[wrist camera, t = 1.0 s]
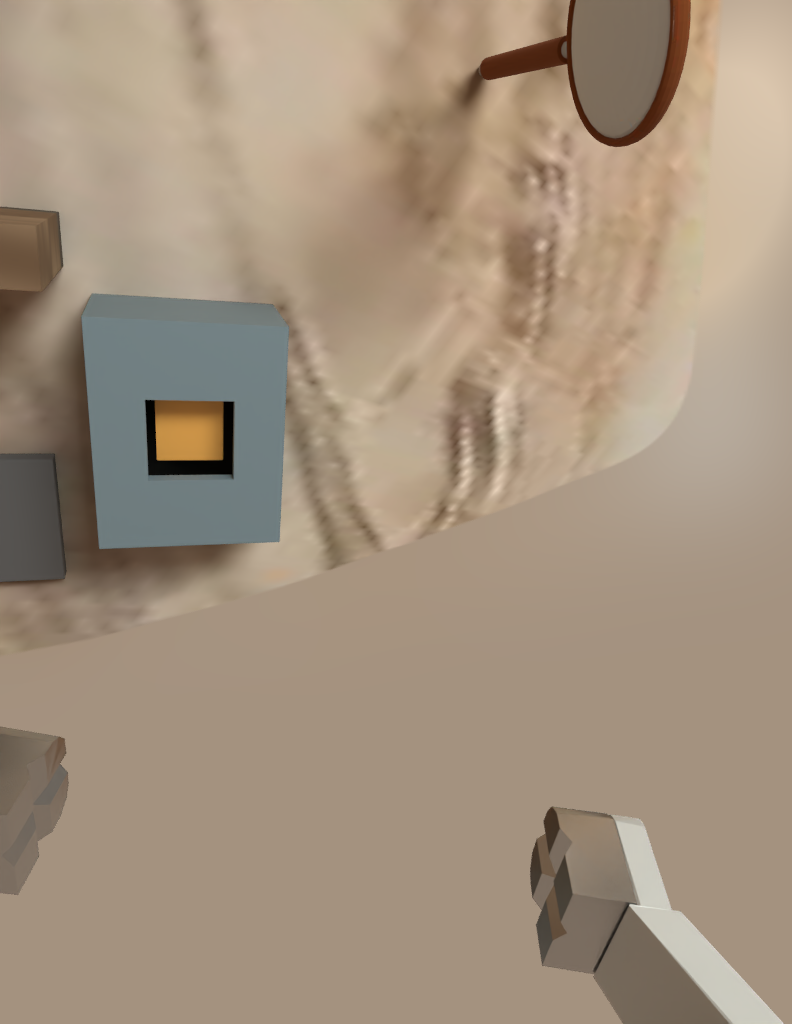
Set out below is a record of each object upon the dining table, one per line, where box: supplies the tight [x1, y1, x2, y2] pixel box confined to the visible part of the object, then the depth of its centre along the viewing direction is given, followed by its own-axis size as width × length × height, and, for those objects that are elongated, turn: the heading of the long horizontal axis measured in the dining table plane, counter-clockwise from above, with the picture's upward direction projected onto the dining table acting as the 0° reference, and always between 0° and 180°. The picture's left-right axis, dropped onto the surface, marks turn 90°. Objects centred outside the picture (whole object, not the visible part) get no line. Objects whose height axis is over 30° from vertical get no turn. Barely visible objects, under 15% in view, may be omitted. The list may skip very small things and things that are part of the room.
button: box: [155, 400, 223, 460], centre depth 45 cm, size 4×4×3 cm
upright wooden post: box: [0, 207, 63, 292], centre depth 38 cm, size 3×3×9 cm
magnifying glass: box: [479, 0, 691, 147], centre depth 36 cm, size 9×2×20 cm, turn 8°
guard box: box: [81, 294, 289, 549], centre depth 45 cm, size 14×11×7 cm
